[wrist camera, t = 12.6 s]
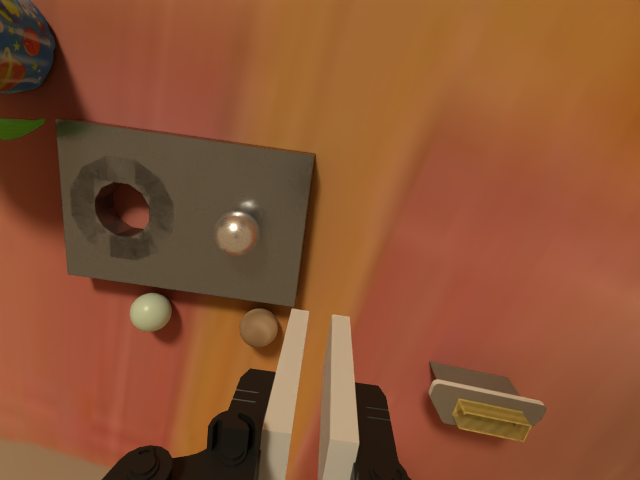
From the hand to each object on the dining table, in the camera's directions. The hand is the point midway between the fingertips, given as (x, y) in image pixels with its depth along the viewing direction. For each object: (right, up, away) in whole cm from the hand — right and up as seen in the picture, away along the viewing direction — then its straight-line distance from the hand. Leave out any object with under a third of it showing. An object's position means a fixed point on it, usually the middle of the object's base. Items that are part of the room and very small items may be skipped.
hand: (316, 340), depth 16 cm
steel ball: (-6, +5, +12) cm, 14 cm away
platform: (+15, -9, +21) cm, 27 cm away
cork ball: (-5, -4, +17) cm, 19 cm away
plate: (-11, +7, +16) cm, 21 cm away
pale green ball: (-15, -2, +17) cm, 23 cm away
